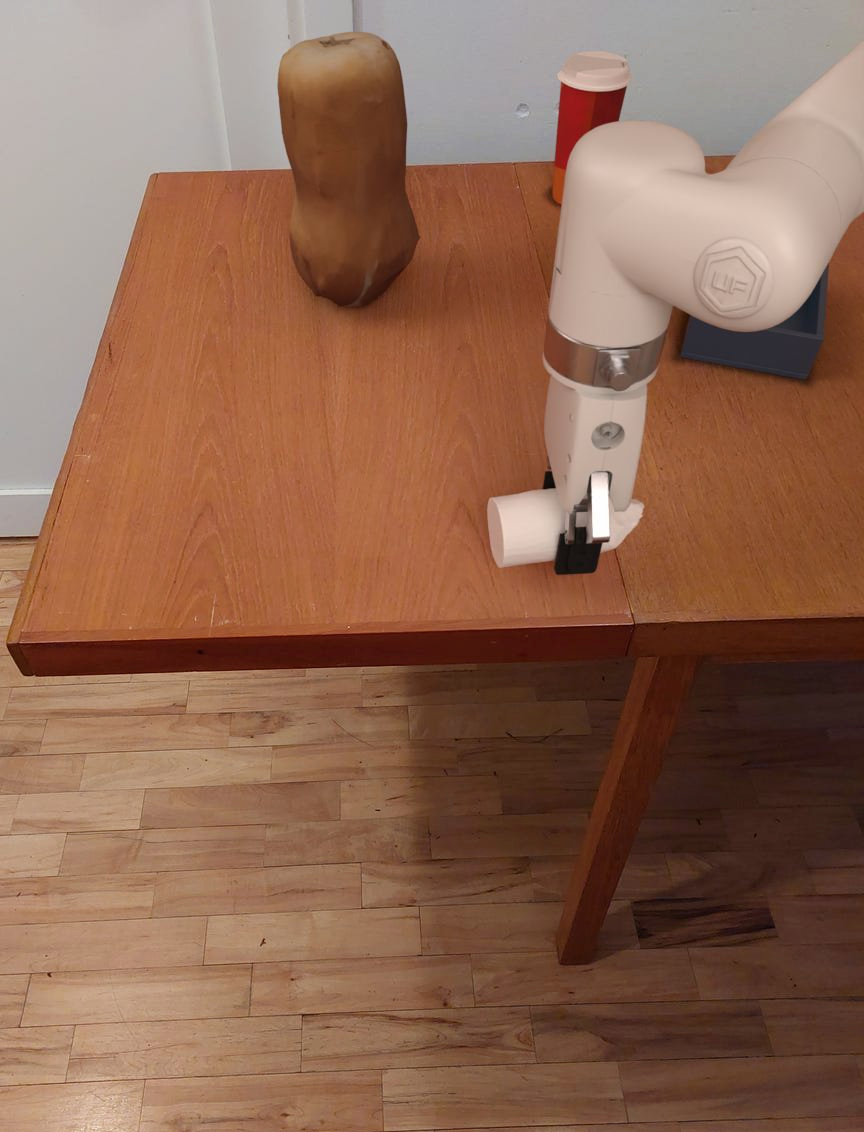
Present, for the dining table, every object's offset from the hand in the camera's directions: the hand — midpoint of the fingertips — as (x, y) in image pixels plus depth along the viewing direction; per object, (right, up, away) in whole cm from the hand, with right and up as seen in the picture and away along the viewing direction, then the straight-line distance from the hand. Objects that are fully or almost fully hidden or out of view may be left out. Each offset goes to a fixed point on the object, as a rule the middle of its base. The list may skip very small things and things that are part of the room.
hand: (566, 538), depth 71 cm
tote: (+24, +25, +23) cm, 42 cm away
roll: (0, -1, +1) cm, 1 cm away
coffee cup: (+10, +48, +41) cm, 64 cm away
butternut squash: (-18, +30, +27) cm, 44 cm away
